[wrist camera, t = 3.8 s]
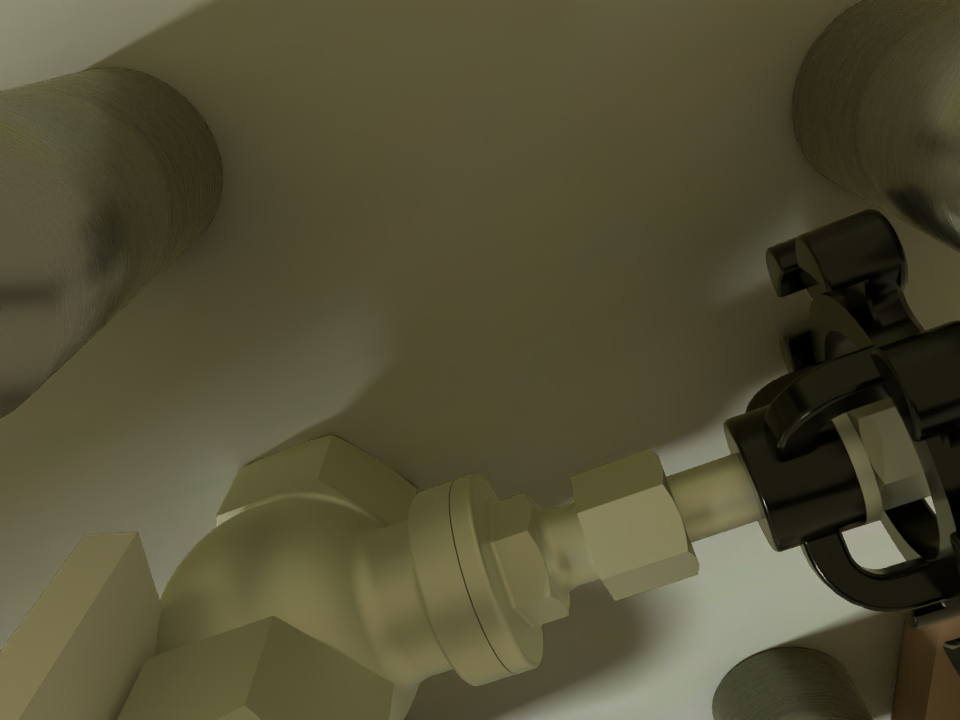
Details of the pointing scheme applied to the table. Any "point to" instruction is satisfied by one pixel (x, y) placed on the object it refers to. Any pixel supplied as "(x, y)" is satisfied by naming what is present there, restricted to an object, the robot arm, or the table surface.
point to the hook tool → (927, 675)
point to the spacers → (198, 183)
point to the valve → (574, 522)
